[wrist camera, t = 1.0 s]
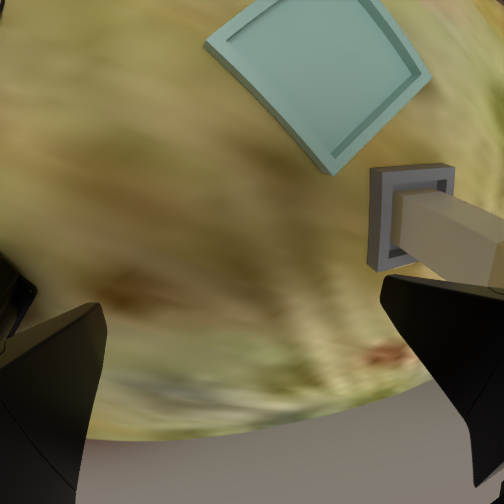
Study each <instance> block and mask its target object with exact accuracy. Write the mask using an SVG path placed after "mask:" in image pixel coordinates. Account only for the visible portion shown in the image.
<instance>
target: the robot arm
mask: <svg viewBox="0 0 504 504" xmlns="http://www.w3.org/2000/svg"><path fill="white" fill-rule="evenodd" d="M29 290H30V291H32V293H30V292H29ZM36 295H37V289H36V288H35V286H33V285H32V284H31V283H30V282H28V281H27V280H26V279H25V278H23V277H22V276H21V275H20V274H19V273H17V272H16V271H15V270H14V269H13V268H12V267H10V266H9V265H8V264H7V263H6V262H5V261H3V260H2V259H1V258H0V504H75V499H76V492H75V491H76V490H77V483H78V477H79V471H80V465H81V460H82V455H83V449H84V444H85V440H86V435H87V430H88V425H89V421H90V417H91V412H92V408H93V404H94V400H95V396H96V392H97V388H98V384H99V380H100V376H101V372H102V367H103V360H104V353H105V346H106V339H107V325H106V321H105V318H104V314H103V311H102V307H101V305H100V303H98V302H95V303H86V304H84V305H81V306H79V307H77V308H75V309H72V310H70V311H68V312H66V313H63V314H61V315H59V316H57V317H54V318H52V319H50V320H48V321H45V322H43V323H41V324H39V325H36V326H34V327H32V328H30V329H28V330H25V331H23V332H21V333H19V334H17V335H14V334H15V332H16V330H17V328H18V326H19V324H20V323H21V321H22V319H23V317H24V315H25V314H26V312H27V310H28V308H29V307H30V305H31V303H32V302H33V300H34V298H35V296H36ZM380 303H381V305H382V307H383V309H384V310H385V312H386V313H387V315H388V317H389V318H390V320H391V321H392V323H393V324H394V326H395V328H396V329H397V331H398V332H399V334H400V335H401V336H402V338H403V339H404V340H405V341H406V343H407V344H408V345H409V347H410V348H411V349H412V350H413V352H414V353H415V354H416V356H417V357H418V358H419V359H420V361H421V362H422V363H423V365H424V366H425V367H426V369H427V370H428V371H429V373H430V374H431V375H432V377H433V378H434V379H435V381H436V382H437V383H438V384H439V386H440V387H441V389H442V390H443V391H444V393H445V394H446V396H447V397H448V398H449V400H450V401H451V402H452V404H453V405H454V407H455V408H456V409H457V411H458V412H459V414H460V415H461V416H462V418H463V419H464V421H465V422H466V424H467V426H468V429H469V433H470V440H471V451H472V463H473V482H474V486H475V488H477V487H478V486H480V485H481V484H482V483H484V482H485V481H487V480H488V479H490V478H491V477H492V476H494V475H495V474H496V473H498V472H499V471H500V470H502V469H503V468H504V288H496V287H485V286H478V285H471V284H463V283H456V282H449V281H441V280H434V279H427V278H419V277H412V276H405V275H397V274H394V275H387V276H386V277H385V278H384V280H383V285H382V289H381V294H380ZM491 504H504V481H503V482H502V483H501V490H500V496H499V498H497V499H496V500H495V501H494V502H492V503H491Z"/></svg>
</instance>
